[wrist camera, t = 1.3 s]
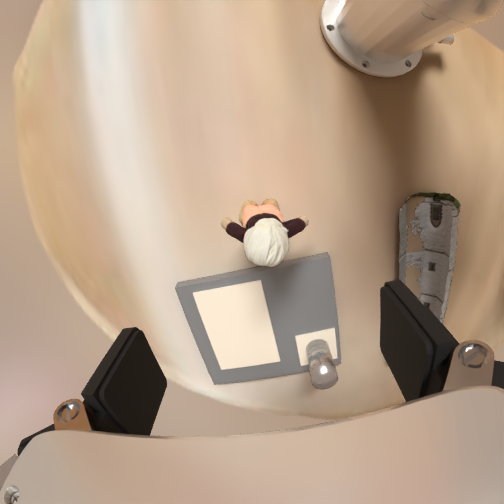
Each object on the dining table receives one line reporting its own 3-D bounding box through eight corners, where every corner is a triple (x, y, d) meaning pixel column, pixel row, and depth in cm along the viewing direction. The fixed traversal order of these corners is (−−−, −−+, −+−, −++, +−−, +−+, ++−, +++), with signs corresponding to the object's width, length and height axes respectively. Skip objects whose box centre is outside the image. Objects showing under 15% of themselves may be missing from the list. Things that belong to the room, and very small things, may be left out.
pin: (327, 336, 35) (337, 368, 29) (329, 354, 36) (338, 386, 30) (304, 341, 35) (310, 374, 30) (307, 359, 36) (313, 391, 31)
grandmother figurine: (235, 237, 33) (220, 289, 21) (225, 204, 32) (204, 239, 20) (303, 221, 32) (327, 265, 20) (295, 187, 31) (317, 212, 19)
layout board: (327, 252, 33) (330, 257, 31) (339, 357, 38) (341, 365, 37) (178, 282, 35) (174, 288, 33) (215, 377, 40) (214, 386, 38)
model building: (411, 185, 32) (402, 343, 41) (395, 195, 28) (384, 369, 37) (464, 190, 27) (442, 354, 36) (459, 201, 23) (428, 384, 32)
